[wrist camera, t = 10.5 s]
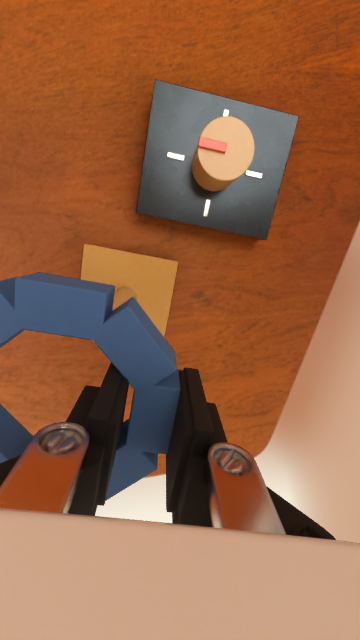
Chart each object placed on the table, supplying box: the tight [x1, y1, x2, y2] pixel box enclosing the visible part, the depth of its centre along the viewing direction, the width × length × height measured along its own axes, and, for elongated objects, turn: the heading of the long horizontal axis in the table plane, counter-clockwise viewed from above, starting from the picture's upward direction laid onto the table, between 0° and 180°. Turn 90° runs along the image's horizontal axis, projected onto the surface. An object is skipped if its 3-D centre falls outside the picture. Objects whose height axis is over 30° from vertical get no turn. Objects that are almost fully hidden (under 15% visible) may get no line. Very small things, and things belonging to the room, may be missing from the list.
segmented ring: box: [0, 272, 181, 501], centre depth 10 cm, size 8×8×2 cm
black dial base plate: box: [136, 79, 299, 240], centre depth 25 cm, size 12×10×3 cm
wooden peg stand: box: [80, 244, 178, 344], centre depth 24 cm, size 9×9×11 cm
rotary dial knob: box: [192, 116, 255, 191], centre depth 21 cm, size 4×4×5 cm
